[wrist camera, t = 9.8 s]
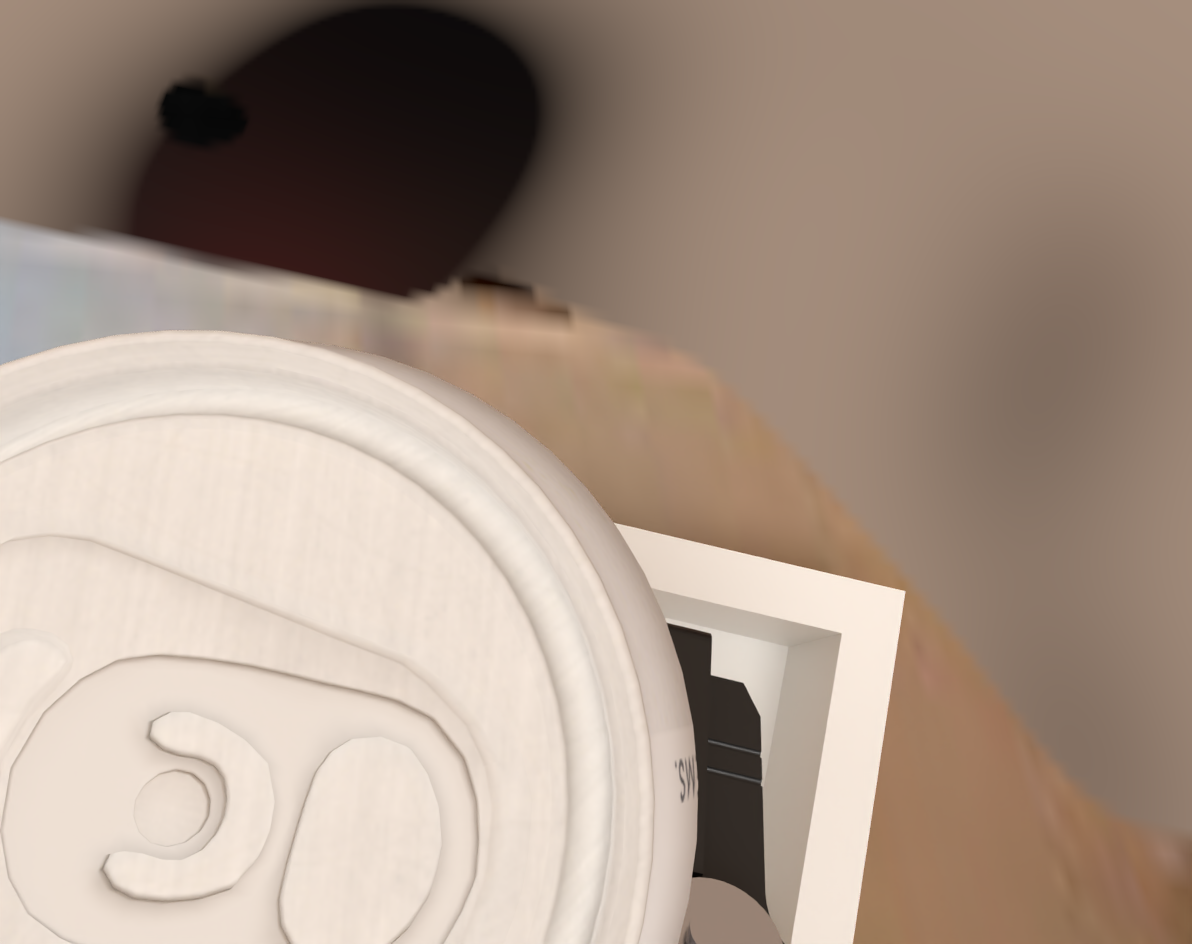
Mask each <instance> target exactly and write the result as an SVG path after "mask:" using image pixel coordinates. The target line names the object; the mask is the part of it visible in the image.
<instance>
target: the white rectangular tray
mask: <svg viewBox="0 0 1192 944" xmlns="http://www.w3.org/2000/svg"><path fill="white" fill-rule="evenodd" d="M614 524H615V525H616V527H617V528H618V530H619V531H620V533H621V535H622V536H623V538H624V540H625V541H626V543H627V545H628V546H629V548H630V550H631V551H632V553H633V555H634V556H635V558H636V560H637V561H638V563H639V565H640V566H641V568H642V570H643V571H644V573H645V575H646V578H647V580H648V582H649V584H650V586H651V589H652V591H653V593H654V595H655V598H656V600H657V602H658V604H659V606H660V609H661V611H662V613H663V615H664V617H665V620H666V622H667V623H670V624H674V625H678V626H683V627H687V628H691V629H695V630H699V631H703V632H707V633H711V635H712V655H711V675H713V676H717V677H721V678H725V679H729V680H734V681H738V682H742V683H744V685H745V687H746V689H747V691H748V693H749V695H750V697H751V699H752V701H753V703H754V705H755V706H756V708H757V710H758V712H759V714H760V716H761V750H762V751H761V755H760V757H761V758H762V782H761V786H762V787H763V823H764V860H765V894H766V903H767V907H768V911H769V915H770V918H771V919H772V921H773V922H774V924H775V926H776V928H777V930H778V932H779V934H780V937H781V940H782V941H783V942H784V944H853V938H854V931H855V925H856V918H857V911H858V904H859V898H860V891H861V884H862V878H863V871H864V864H865V858H866V851H867V844H868V838H869V831H870V824H871V817H872V811H873V804H874V797H875V791H876V784H877V777H878V771H879V764H880V757H881V751H882V744H883V737H884V730H885V724H886V717H887V710H888V704H889V697H890V690H891V684H892V677H893V670H894V664H895V657H896V650H897V643H898V637H899V630H900V623H901V617H902V610H903V603H904V597H905V591H902V590H897V589H893V588H889V587H885V586H880V585H876V584H872V583H868V582H863V581H859V580H855V579H851V578H846V577H842V576H838V575H834V574H829V573H825V572H821V571H817V570H812V569H808V568H804V567H800V566H795V565H791V564H787V563H783V562H778V561H774V560H770V559H766V558H761V557H757V556H753V555H749V554H744V553H740V552H736V551H732V550H727V549H723V548H719V547H715V546H710V545H706V544H702V543H698V542H693V541H689V540H685V539H681V538H676V537H672V536H668V535H664V534H659V533H655V532H651V531H647V530H642V529H638V528H634V527H630V526H625V525H621V524H617V523H614Z"/></svg>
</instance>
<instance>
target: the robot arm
mask: <svg viewBox="0 0 1192 944" xmlns="http://www.w3.org/2000/svg"><path fill="white" fill-rule="evenodd" d="M667 626H668V629H669V632H670V635H671V638H672V641H673V644H674V647H675V650H676V654H677V657H678V660H679V663H680V666H681V669H682V673H683V678H684V683H685V688H686V693H687V697H688V702H689V707H690V712H691V717H692V722H693V729H694V741H695V752H696V764H697V775H698V810H697V843H696V850H695V858H694V865H693V873H692V880H691V888H690V895H689V901H688V905H687V910H686V914H685V918H684V922H683V926H682V930H681V934H680V938H679V942H678V944H784V942H783V941H782V940H781V937H780V934H779V932H778V930H777V928H776V926H775V924H774V922H773V921H772V919H771V918H770V915H769V911H768V907H767V903H766V894H765V860H764V823H763V787H762V786H761V782H762V758H761V757H760V755H761V751H762V750H761V716H760V714H759V712H758V710H757V708H756V706H755V705H754V703H753V701H752V699H751V697H750V695H749V693H748V691H747V689H746V687H745V685H744V683H742V682H738V681H734V680H729V679H725V678H721V677H717V676H713V675H711V655H712V635H711V633H707V632H703V631H699V630H695V629H691V628H687V627H683V626H678V625H674V624H670V623H667Z"/></svg>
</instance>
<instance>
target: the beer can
mask: <svg viewBox="0 0 1192 944" xmlns="http://www.w3.org/2000/svg"><path fill="white" fill-rule="evenodd" d="M697 810H698V775H697V764H696V752H695V741H694V729H693V722H692V717H691V712H690V707H689V702H688V697H687V693H686V688H685V683H684V678H683V673H682V669H681V666H680V663H679V660H678V657H677V654H676V650H675V647H674V644H673V641H672V638H671V635H670V632H669V629H668V626H667V622H666V620H665V617H664V615H663V613H662V611H661V609H660V606H659V604H658V602H657V600H656V598H655V595H654V593H653V591H652V589H651V586H650V584H649V582H648V580H647V578H646V575H645V573H644V571H643V570H642V568H641V566H640V565H639V563H638V561H637V560H636V558H635V556H634V555H633V553H632V551H631V550H630V548H629V546H628V545H627V543H626V541H625V540H624V538H623V536H622V535H621V533H620V531H619V530H618V528H617V527H616V525H615V524H614V523H613V521H612V520H611V519H610V517H609V516H608V515H607V514H606V512H605V511H604V510H603V508H602V507H601V506H600V504H599V503H598V502H597V501H596V499H595V498H594V497H593V495H592V494H591V493H590V491H589V490H588V489H587V488H586V487H585V486H584V485H583V483H582V482H581V481H580V480H579V479H578V478H577V477H576V476H575V475H574V474H573V473H572V472H571V471H570V470H569V469H568V468H567V467H566V466H565V465H564V464H563V463H562V462H561V461H560V460H559V459H558V458H557V457H556V456H555V455H554V454H553V453H552V452H551V451H550V450H549V449H548V448H546V447H545V446H544V445H543V444H542V443H540V442H539V441H538V440H537V439H535V438H534V437H533V436H532V435H530V434H529V433H528V432H527V431H526V430H524V429H523V428H522V427H521V426H519V425H518V424H517V423H516V422H515V421H513V420H512V419H510V418H509V417H507V416H505V415H504V414H502V413H501V412H499V411H498V410H496V409H494V408H493V407H491V406H490V405H488V404H487V403H485V402H484V401H482V400H480V399H479V398H477V397H476V396H474V395H473V394H471V393H469V392H467V391H464V390H462V389H460V388H458V387H456V386H454V385H452V384H450V383H448V382H446V381H444V380H442V379H440V378H438V377H436V376H434V375H432V374H430V373H427V372H425V371H422V370H419V369H416V368H413V367H410V366H408V365H405V364H402V363H399V362H396V361H394V360H391V359H388V358H385V357H382V356H378V355H374V354H370V353H365V352H361V351H357V350H352V349H348V348H344V347H339V346H335V345H328V344H320V343H311V342H303V341H295V340H286V339H280V338H276V337H270V336H261V335H253V334H244V333H236V332H228V331H195V330H165V331H155V332H144V333H134V334H123V335H114V336H109V337H104V338H99V339H94V340H89V341H84V342H79V343H74V344H69V345H64V346H59V347H56V348H53V349H50V350H46V351H43V352H40V353H37V354H34V355H30V356H27V357H24V358H21V359H17V360H14V361H11V362H8V363H5V364H3V365H0V944H678V942H679V938H680V934H681V930H682V926H683V922H684V918H685V914H686V910H687V905H688V901H689V895H690V888H691V880H692V873H693V865H694V858H695V850H696V843H697Z"/></svg>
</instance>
